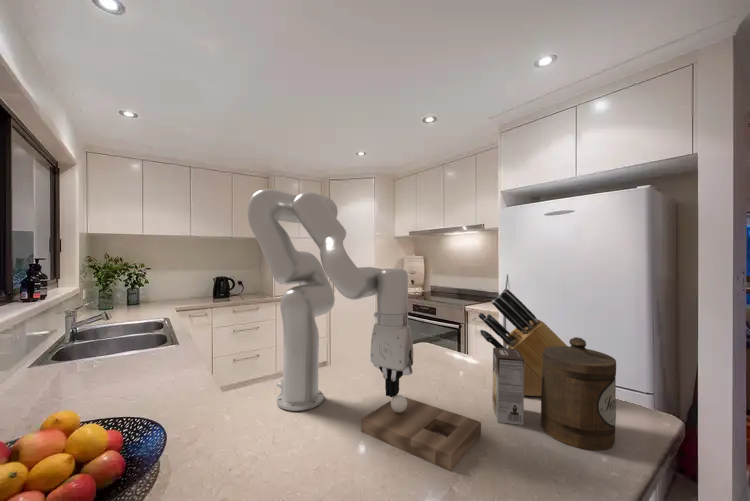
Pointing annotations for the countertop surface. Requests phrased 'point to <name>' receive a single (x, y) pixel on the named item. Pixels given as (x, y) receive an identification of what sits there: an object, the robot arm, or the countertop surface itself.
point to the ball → (399, 403)
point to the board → (424, 431)
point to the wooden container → (579, 396)
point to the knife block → (522, 338)
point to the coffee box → (508, 385)
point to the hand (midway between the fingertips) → (392, 394)
